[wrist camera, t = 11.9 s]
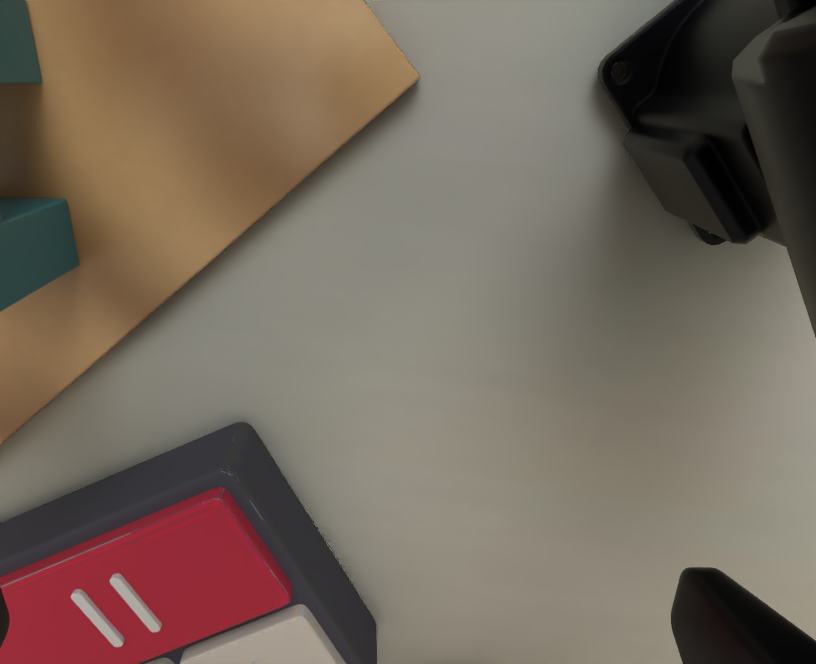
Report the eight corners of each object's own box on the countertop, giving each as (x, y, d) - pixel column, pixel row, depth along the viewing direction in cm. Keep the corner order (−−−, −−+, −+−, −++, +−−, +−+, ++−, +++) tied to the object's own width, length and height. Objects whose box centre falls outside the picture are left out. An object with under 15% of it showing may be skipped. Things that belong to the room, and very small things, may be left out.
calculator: (382, 713, 21) (19, 846, 23) (379, 614, 25) (71, 733, 27) (224, 480, 17) (-206, 660, 19) (251, 406, 21) (-105, 559, 23)
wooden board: (70, -398, 13) (54, -419, 12) (420, 77, 17) (421, 77, 16) (-374, 200, 17) (-399, 203, 17) (-22, 464, 21) (-33, 474, 21)
